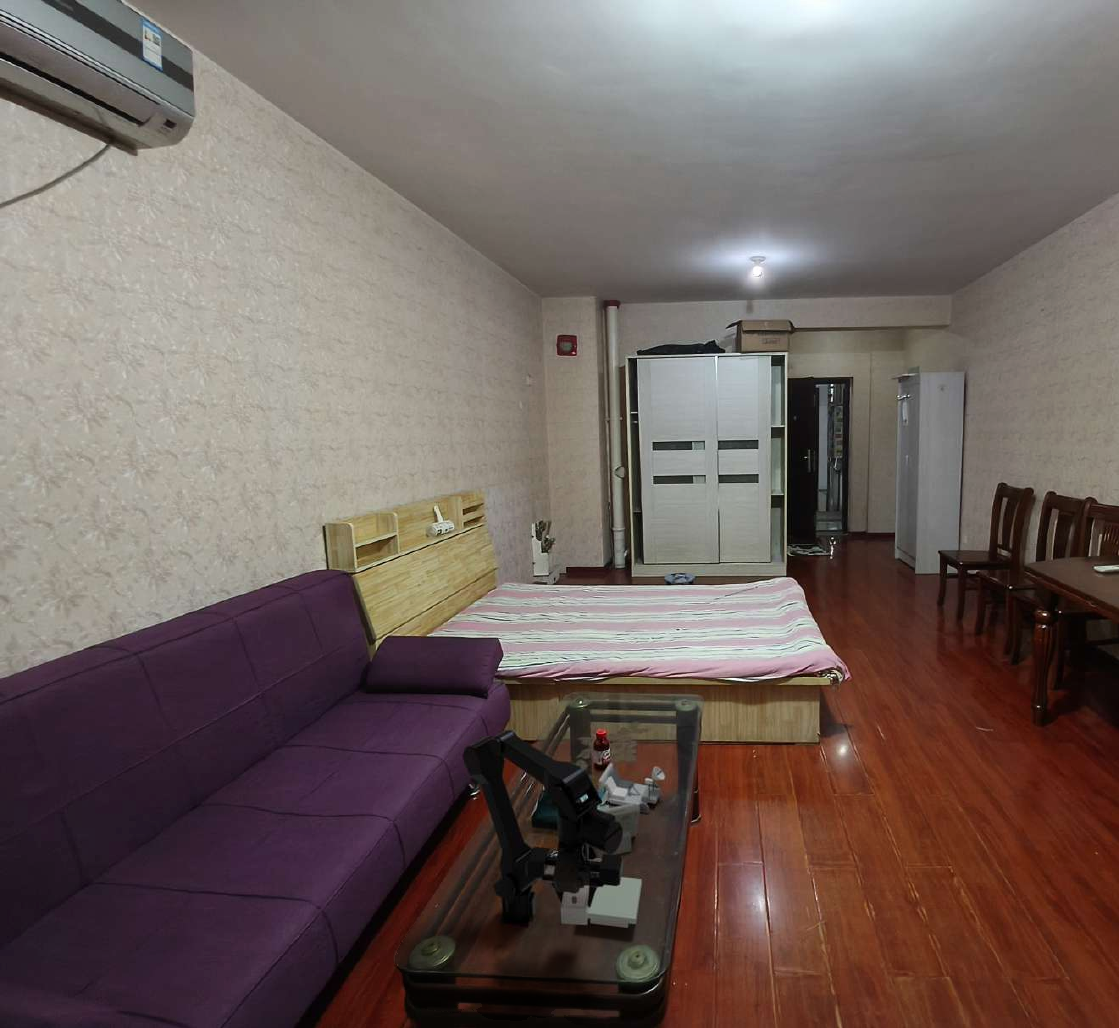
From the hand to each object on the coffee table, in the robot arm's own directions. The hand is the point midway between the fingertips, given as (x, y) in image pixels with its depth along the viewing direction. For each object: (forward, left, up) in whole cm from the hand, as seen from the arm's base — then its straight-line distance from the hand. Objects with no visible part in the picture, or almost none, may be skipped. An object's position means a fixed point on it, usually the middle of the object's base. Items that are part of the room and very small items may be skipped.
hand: (576, 904), depth 131 cm
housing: (0, 0, -1) cm, 1 cm away
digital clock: (+1, +34, -11) cm, 36 cm away
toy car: (+4, +56, -11) cm, 57 cm away
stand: (+5, +12, -11) cm, 17 cm away
